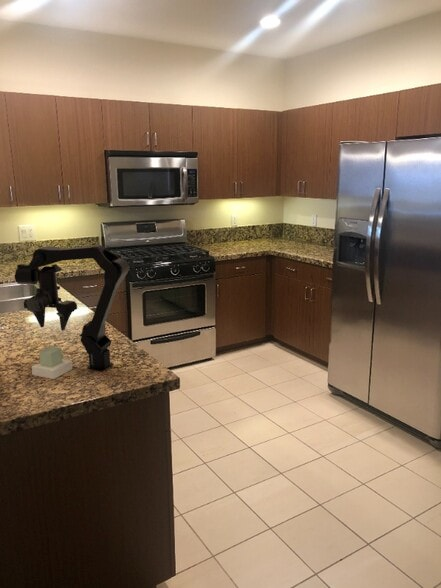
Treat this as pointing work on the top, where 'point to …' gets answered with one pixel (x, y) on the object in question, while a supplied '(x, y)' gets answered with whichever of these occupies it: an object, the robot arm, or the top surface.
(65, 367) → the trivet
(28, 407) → the top surface
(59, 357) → the cube
